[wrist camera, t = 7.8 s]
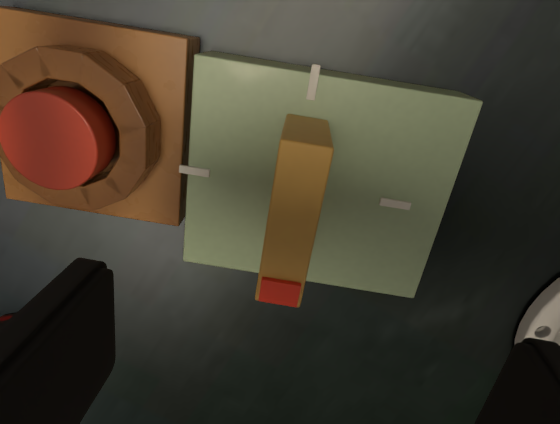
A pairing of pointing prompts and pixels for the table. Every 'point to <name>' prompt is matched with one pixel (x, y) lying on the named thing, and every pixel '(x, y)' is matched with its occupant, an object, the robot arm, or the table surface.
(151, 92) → the button block
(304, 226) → the lock lever
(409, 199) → the green lever base
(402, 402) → the table surface
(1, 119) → the button
